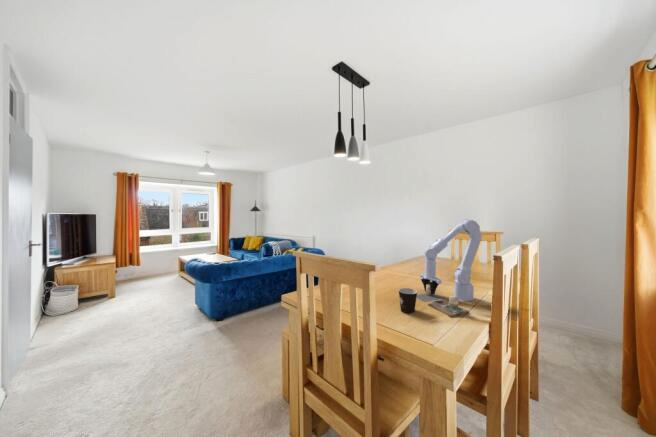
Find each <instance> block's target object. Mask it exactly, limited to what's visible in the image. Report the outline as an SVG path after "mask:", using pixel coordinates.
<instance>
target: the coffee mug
mask: <svg viewBox="0 0 656 437" xmlns="http://www.w3.org/2000/svg"><path fill="white" fill-rule="evenodd" d="M417 295H418V291H417V290H416V289H414V288H409V287H401V288H399V289H398V297H399V308H400V312H401V313H403V314H408V315H410V314H413V313H415V310H416V302H417V298H416V297H417Z"/></svg>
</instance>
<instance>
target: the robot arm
mask: <svg viewBox="0 0 656 437" xmlns="http://www.w3.org/2000/svg"><path fill="white" fill-rule="evenodd" d="M480 228H481V227H480V225H479V223H478V222H477V221H476V220H474V219H469V218H468V219H464V220H462V221H461V222H459V223H457V225H455V226H454V228H451V230H450V231H449V232H448V233H447V234H446V235H445V236H444V237H443V238H438V239H435V240H434V241H435V242H434V243H433V244H431V245H429V246H428V247H427V248H426V249H425V250H424V256H425V258H424V259H425V260H424V273H423V272H422V273H419V277H420V278H421V279H420V281H421V282H422V285H423V288H424V292H426V284H430V287H431V294H436V290H437V288H438V287H439V285H441V284H442V279H440V278H438V277H437V275H436V274H437V269H436V268H437V262H436V260H437V257H438V254H440V253H441V252H442V251H444V250H445V249H446V248H447V247H448V242H449V243H450V242H451V240H453V239H454V238H455V237H456V236H458V235H459V234H463V233H467V235H468V237H469V240H468V243H467V246H466V248H465V251H464V254H463V257H462V260H461V263H460V264H459V265H458V267H457V269H456V270H455V271H454V273H453V275H454V277H455V280H454V292H453V295H451V296H452V297H457V298H458V301H460V302H467V301H468V302H469V301H475V298H474V295H475V294H474V291H475V290H474V286H473V283H472V282H471V275H472V267H473V263H474V260H475V258H476V255H477V252H478V249H479V247H480V244H481V241H482V239H483V235H482V233H481V229H480Z"/></svg>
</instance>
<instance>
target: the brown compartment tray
mask: <svg viewBox="0 0 656 437" xmlns="http://www.w3.org/2000/svg"><path fill="white" fill-rule="evenodd" d="M427 306H428V307H430V308H433V309H434V310H437V311H438V312H441V313H442V314H444V315H447V317H449V318H453V317H457V316H463V315H467V314H470V310H467V309H465V308H462V307H461V306H458V310H457V311H453V310H451V309H449V301H446V300H445V299H439V300H433V301H431V303H427Z"/></svg>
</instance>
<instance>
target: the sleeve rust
mask: <svg viewBox="0 0 656 437" xmlns="http://www.w3.org/2000/svg"><path fill="white" fill-rule="evenodd" d="M425 293H426V295H427V296H434V294H431V287H430V284H426V291H425Z"/></svg>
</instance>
